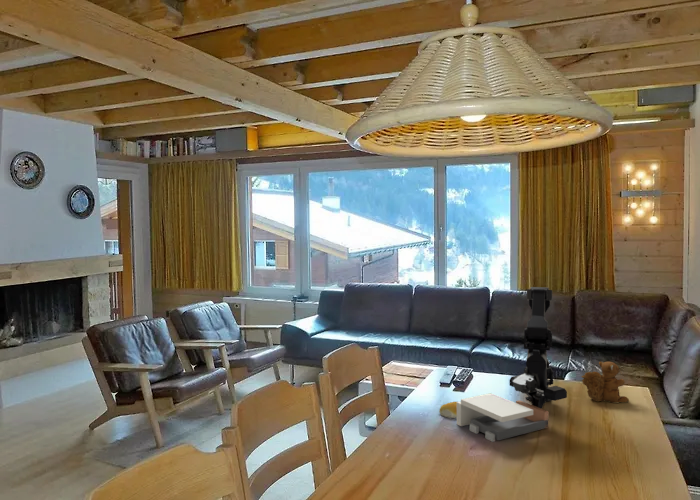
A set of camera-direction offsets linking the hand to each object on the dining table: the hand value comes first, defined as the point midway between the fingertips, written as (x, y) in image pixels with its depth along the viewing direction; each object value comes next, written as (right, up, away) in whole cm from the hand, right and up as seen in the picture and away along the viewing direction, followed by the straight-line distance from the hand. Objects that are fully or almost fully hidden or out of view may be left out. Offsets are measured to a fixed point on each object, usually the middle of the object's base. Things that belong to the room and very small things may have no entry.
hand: (537, 413), depth 181 cm
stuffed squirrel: (+30, -1, +21) cm, 37 cm away
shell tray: (-10, -3, -5) cm, 12 cm away
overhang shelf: (-15, -3, -8) cm, 17 cm away
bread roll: (-25, -3, +8) cm, 26 cm away
